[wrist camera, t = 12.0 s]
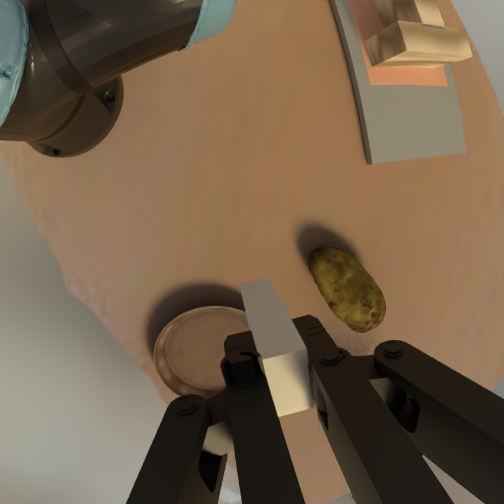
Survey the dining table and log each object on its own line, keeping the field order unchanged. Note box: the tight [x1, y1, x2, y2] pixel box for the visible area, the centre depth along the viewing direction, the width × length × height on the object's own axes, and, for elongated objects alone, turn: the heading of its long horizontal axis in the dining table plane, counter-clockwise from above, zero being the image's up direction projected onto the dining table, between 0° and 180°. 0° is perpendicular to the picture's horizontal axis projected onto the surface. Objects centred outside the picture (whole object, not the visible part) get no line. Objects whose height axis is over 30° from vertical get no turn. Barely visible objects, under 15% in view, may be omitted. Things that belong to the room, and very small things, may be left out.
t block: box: [365, 0, 473, 68], centre depth 31 cm, size 12×12×9 cm
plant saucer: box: [153, 306, 250, 400], centre depth 45 cm, size 18×18×3 cm
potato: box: [308, 246, 386, 333], centre depth 42 cm, size 8×13×8 cm, turn 23°
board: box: [330, 0, 467, 165], centre depth 38 cm, size 30×19×2 cm, turn 11°
